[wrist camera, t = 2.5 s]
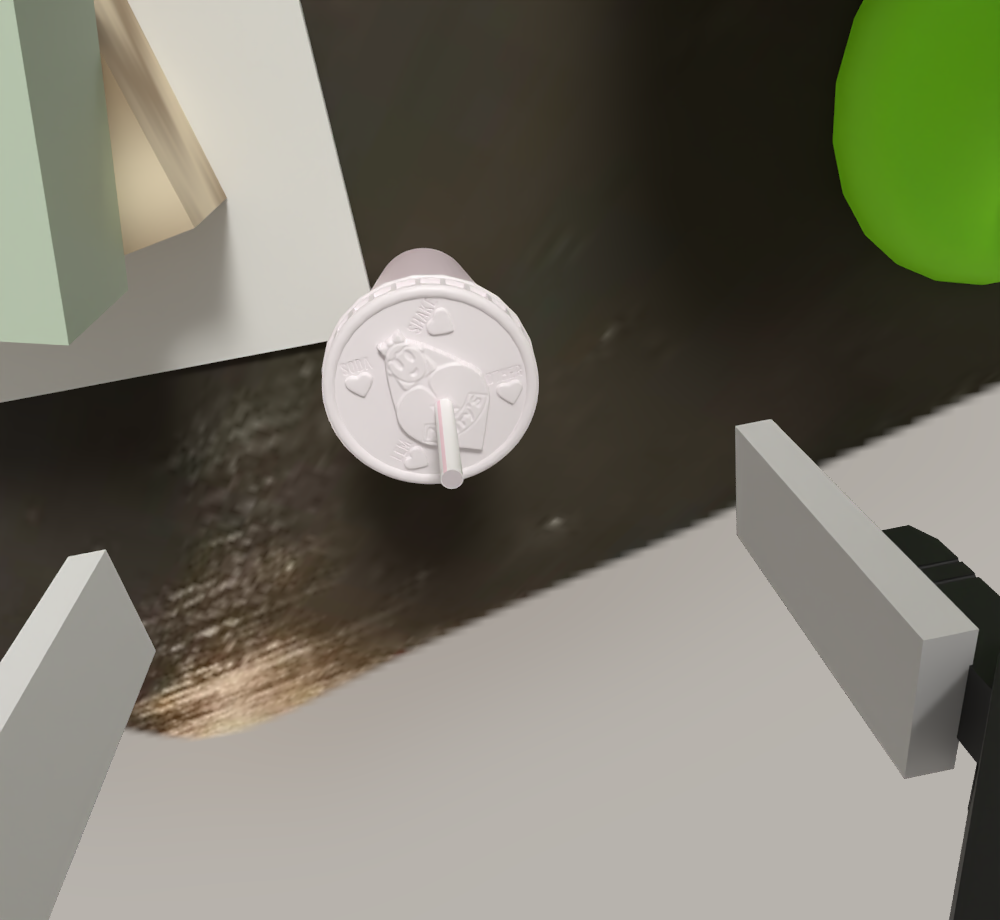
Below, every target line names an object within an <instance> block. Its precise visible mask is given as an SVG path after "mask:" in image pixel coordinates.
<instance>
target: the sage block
mask: <svg viewBox="0 0 1000 920" xmlns="http://www.w3.org/2000/svg"><path fill="white" fill-rule="evenodd" d="M127 291H128V283H127V274H126V266H125V258H124V249H123V241H122V233H121V224H120V216H119V208H118V199H117V191H116V183H115V174H114V166H113V158H112V149H111V141H110V132H109V124H108V116H107V107H106V99H105V91H104V82H103V74H102V66H101V57H100V49H99V41H98V32H97V24H96V16H95V7H94V0H0V342H17V343H34V344H52V345H70V344H71V343H72V342H73V341H74V340H75V339H76V338H77V337H79V336H80V335H81V334H82V333H83V332H84V331H85V330H86V329H87V328H88V327H89V326H90V325H91V324H92V323H93V322H95V321H96V320H97V319H98V318H99V317H100V316H101V315H102V314H103V313H104V312H105V311H106V310H107V309H108V308H110V307H111V306H112V305H113V304H114V303H115V302H116V301H117V300H118V299H119V298H120V297H121V296H122V295H123V294H125V293H126V292H127Z"/></svg>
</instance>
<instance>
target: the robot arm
mask: <svg viewBox="0 0 1000 920" xmlns="http://www.w3.org/2000/svg"><path fill="white" fill-rule="evenodd" d="M735 447H736V515H737V536H738V537H739V539H740V540H741V542H742V543H743V545H744V546H745V547H746V549H747V550H748V552H749V553H750V555H751V556H752V558H753V559H754V561H755V562H756V563H757V565H758V566H759V568H760V569H761V571H762V572H763V574H764V575H765V577H766V578H767V580H768V581H769V582H770V584H771V585H772V587H773V588H774V590H775V591H776V592H777V594H778V596H779V597H780V598H781V600H782V601H783V603H784V604H785V606H786V607H787V609H788V610H789V612H790V613H791V614H792V616H793V617H794V619H795V620H796V622H797V623H798V625H799V626H800V628H801V629H802V630H803V632H804V633H805V635H806V636H807V638H808V639H809V641H810V642H811V644H812V645H813V647H814V648H815V649H816V651H817V652H818V654H819V655H820V657H821V658H822V660H823V661H824V662H825V664H826V665H827V667H828V668H829V670H830V671H831V673H832V674H833V675H834V677H835V678H836V680H837V681H838V683H839V684H840V686H841V687H842V689H843V690H844V691H845V693H846V695H847V696H848V697H849V699H850V700H851V701H852V703H853V705H854V706H855V707H856V709H857V711H858V712H859V713H860V715H861V716H862V718H863V719H864V721H865V722H866V724H867V725H868V727H869V728H870V729H871V731H872V732H873V734H874V735H875V737H876V738H877V740H878V741H879V743H880V744H881V746H882V747H883V748H884V750H885V751H886V753H887V754H888V756H889V757H890V759H891V760H892V762H893V763H894V764H895V766H896V767H897V769H898V770H899V772H900V773H901V775H902V776H903V778H904V779H906V778H911V777H916V776H921V775H926V774H930V773H935V772H940V771H944V770H950V769H954V765H955V760H956V754H957V748H958V743H959V741H960V742H961V744H962V745H963V746H964V747H965V749H966V750H967V751H968V752H969V753H970V755H971V756H972V757H973V758H974V760H975V761H976V762H977V766H976V771H975V775H974V780H973V785H972V790H971V796H970V801H969V805H968V815H967V821H966V827H965V832H964V839H963V844H962V850H961V855H960V861H959V867H958V872H957V878H956V884H955V889H954V895H953V901H952V906H951V912H950V918H949V920H1000V596H999V595H998V594H997V593H996V592H995V591H994V590H992V589H991V588H990V587H989V586H988V585H987V584H986V583H985V582H984V581H983V580H982V579H981V578H979V577H977V578H976V576H975V573H974V572H973V571H972V570H971V569H970V568H969V567H968V566H966V565H965V564H964V563H963V562H959V561H958V557H957V556H956V555H954V554H953V553H952V552H951V551H950V550H949V549H948V548H947V547H946V546H945V545H943V543H941V542H940V541H939V540H938V539H936V538H934V537H932V536H930V535H928V534H926V533H924V532H922V531H920V530H918V529H916V528H914V527H912V526H909V525H907V526H902V527H897V528H892V529H887V530H882V531H881V530H880V529H879V528H878V526H877V525H876V524H874V522H872V520H870V518H869V517H868V516H867V515H866V514H865V513H864V512H863V511H862V510H861V509H860V508H859V507H857V506H856V504H855V503H854V502H853V501H852V500H851V499H850V498H849V497H848V496H847V495H846V494H845V493H844V492H843V491H842V490H841V489H840V488H839V487H838V486H837V485H836V484H835V483H834V482H833V481H832V480H831V479H830V478H829V477H828V476H827V475H826V474H825V473H824V472H823V471H822V470H821V469H820V468H819V467H818V466H817V465H816V464H815V463H814V462H813V461H812V460H811V459H810V458H809V457H808V456H807V455H806V454H805V453H804V452H803V451H802V450H801V449H800V448H799V447H798V446H797V445H796V444H795V443H794V442H793V441H792V440H791V439H790V438H789V437H788V436H787V434H786V433H785V432H784V431H783V430H782V429H781V428H780V427H779V426H778V425H777V424H776V423H775V422H774V421H773V420H772V419H768V420H763V421H758V422H753V423H748V424H743V425H738V426H735ZM155 651H156V650H155V648H154V646H153V644H152V642H151V640H150V638H149V636H148V634H147V632H146V630H145V628H144V626H143V624H142V622H141V620H140V618H139V616H138V614H137V612H136V610H135V608H134V606H133V604H132V602H131V600H130V598H129V596H128V593H127V591H126V589H125V587H124V585H123V583H122V581H121V579H120V577H119V575H118V573H117V571H116V569H115V567H114V565H113V563H112V561H111V559H110V557H109V555H108V553H107V551H106V550H101V551H95V552H90V553H85V554H80V555H75V556H70V557H68V558H67V560H66V561H65V563H64V564H63V566H62V567H61V569H60V571H59V572H58V574H57V575H56V577H55V578H54V580H53V581H52V583H51V585H50V586H49V588H48V589H47V591H46V592H45V594H44V595H43V597H42V599H41V600H40V602H39V603H38V605H37V606H36V608H35V609H34V611H33V613H32V614H31V616H30V617H29V619H28V620H27V622H26V623H25V625H24V627H23V628H22V630H21V631H20V633H19V634H18V636H17V638H16V639H15V641H14V642H13V644H12V645H11V647H10V648H9V650H8V652H7V653H6V655H5V656H4V658H3V659H2V661H1V662H0V920H49V917H50V915H51V912H52V909H53V907H54V905H55V902H56V900H57V897H58V895H59V892H60V890H61V887H62V884H63V882H64V879H65V877H66V874H67V872H68V869H69V867H70V864H71V862H72V859H73V857H74V854H75V852H76V849H77V847H78V844H79V842H80V839H81V837H82V834H83V832H84V829H85V827H86V824H87V822H88V819H89V817H90V814H91V812H92V809H93V807H94V804H95V802H96V799H97V797H98V794H99V792H100V789H101V787H102V784H103V782H104V779H105V777H106V774H107V772H108V769H109V767H110V764H111V761H112V759H113V757H114V754H115V751H116V749H117V746H118V744H119V742H120V739H121V737H122V734H123V732H124V729H125V727H126V724H127V722H128V719H129V717H130V714H131V712H132V709H133V707H134V704H135V702H136V699H137V697H138V694H139V692H140V689H141V686H142V684H143V681H144V679H145V676H146V674H147V671H148V669H149V666H150V664H151V661H152V659H153V656H154V654H155Z"/></svg>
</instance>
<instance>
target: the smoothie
mask: <svg viewBox="0 0 1000 920" xmlns="http://www.w3.org/2000/svg"><path fill="white" fill-rule="evenodd" d="M538 388H539V380H538V370H537V364H536V360H535V356H534V352H533V348H532V344H531V340H530V338H529V336H528V334H527V332H526V330H525V329H524V327H523V325H522V323H521V322H520V320H519V318H518V316H517V315H516V314H515V313H514V312H513V311H512V310H511V309H510V308H509V307H508V306H507V305H506V304H505V303H504V302H503V301H502V300H501V299H500V298H499V297H498V296H497V295H495V294H493V293H491V292H489V291H488V290H486V289H484V288H482V287H481V286H479V285H477V284H475V282H474V281H473V280H472V279H471V278H470V277H469V275H468V274H467V273H466V272H465V271H464V270H463V268H462V267H461V266H460V265H459V264H458V263H457V262H456V261H455V260H454V259H453V258H452V257H450V256H449V255H447V254H445V253H443V252H441V251H438V250H435V249H429V248H418V249H412V250H409V251H406V252H403V253H401V254H400V255H398V256H396V257H395V258H394V259H393V260H391V261H390V262H389V264H388V265H387V266H386V267H385V269H384V270H383V272H382V273H381V275H380V277H379V278H378V280H377V281H376V283H375V285H374V286H373V288H372V289H371V291H370V292H368V293H366V294H365V295H363V296H361V297H360V298H359V299H358V300H357V301H356V302H355V303H354V304H353V305H352V306H351V307H350V308H349V309H348V310H347V311H346V312H345V313H344V314H343V315H342V316H341V317H340V319H339V321H338V322H337V324H336V326H335V328H334V330H333V332H332V334H331V336H330V338H329V340H328V342H327V345H326V350H325V355H324V360H323V365H322V394H323V402H324V406H325V410H326V413H327V416H328V419H329V421H330V423H331V426H332V428H333V430H334V431H335V433H336V435H337V436H338V438H339V439H340V440H341V442H342V443H343V445H344V446H345V447H346V448H347V449H348V450H349V451H350V452H351V453H352V454H353V455H354V456H355V457H356V458H357V459H359V460H360V461H361V462H363V463H364V464H365V465H367V466H369V467H370V468H372V469H373V470H375V471H377V472H379V473H381V474H383V475H386V476H388V477H391V478H394V479H397V480H401V481H406V482H410V483H418V484H442V485H443V486H444V487H446V488H449V489H455V488H457V487H459V486H460V485H461V484H462V482H463V479H465V478H469V477H471V476H474V475H476V474H479V473H481V472H482V471H484V470H486V469H488V468H490V467H491V466H493V465H494V464H496V463H497V462H499V461H500V460H501V459H502V458H504V457H505V456H506V455H507V454H508V453H509V452H510V451H511V450H512V449H513V448H514V447H515V446H516V444H517V443H518V442H519V440H520V439H521V438H522V436H523V435H524V433H525V431H526V430H527V428H528V426H529V424H530V422H531V420H532V417H533V414H534V411H535V408H536V403H537V398H538Z"/></svg>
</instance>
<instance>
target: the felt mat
mask: <svg viewBox="0 0 1000 920" xmlns="http://www.w3.org/2000/svg"><path fill="white" fill-rule="evenodd" d="M127 1H128V3H129V5H130V7H131V9H132V11H133V13H134V15H135V17H136V19H137V21H138V23H139V25H140V27H141V29H142V31H143V33H144V35H145V37H146V38H147V40H148V42H149V44H150V46H151V48H152V50H153V52H154V54H155V56H156V58H157V60H158V62H159V64H160V66H161V68H162V70H163V72H164V74H165V76H166V78H167V80H168V82H169V84H170V86H171V88H172V90H173V92H174V94H175V96H176V98H177V100H178V102H179V104H180V106H181V108H182V110H183V112H184V114H185V116H186V118H187V120H188V122H189V124H190V126H191V128H192V130H193V132H194V134H195V136H196V137H197V139H198V141H199V143H200V145H201V147H202V149H203V151H204V153H205V155H206V157H207V159H208V161H209V163H210V165H211V167H212V169H213V171H214V173H215V175H216V177H217V179H218V181H219V183H220V185H221V187H222V189H223V191H224V193H225V195H226V197H227V198H226V199H225V200H224V201H223V202H222V203H221V204H220V205H219V206H218V207H217V208H216V209H215V210H213V211H212V212H211V213H210V214H209V215H208V216H207V217H206V218H205V219H204V220H203V221H202V222H201V223H200V224H198V225H197V226H196V227H195V228H193V229H191V230H188V231H186V232H183V233H181V234H178V235H175V236H173V237H170V238H168V239H165V240H162V241H160V242H157V243H155V244H152V245H150V246H147V247H144V248H142V249H139V250H137V251H134V252H132V253H129V254H126V255H124V258H125V266H126V274H127V283H128V291H127V292H126V293H125V294H123V295H122V296H121V297H120V298H119V299H118V300H117V301H116V302H115V303H114V304H113V305H112V306H111V307H110V308H108V309H107V310H106V311H105V312H104V313H103V314H102V315H101V316H100V317H99V318H98V319H97V320H96V321H95V322H93V323H92V324H91V325H90V326H89V327H88V328H87V329H86V330H85V331H84V332H83V333H82V334H81V335H80V336H79V337H77V338H76V339H75V340H74V341H73V342H72V343H71V344H70V345H52V344H34V343H17V342H0V403H1V402H6V401H12V400H17V399H22V398H28V397H33V396H38V395H44V394H49V393H54V392H60V391H65V390H70V389H75V388H81V387H86V386H91V385H97V384H102V383H107V382H113V381H118V380H123V379H129V378H134V377H139V376H144V375H150V374H155V373H160V372H166V371H171V370H176V369H182V368H187V367H192V366H197V365H203V364H208V363H213V362H219V361H224V360H229V359H235V358H240V357H245V356H251V355H256V354H261V353H266V352H272V351H277V350H282V349H288V348H293V347H298V346H304V345H309V344H314V343H320V342H325V341H328V340H329V338H330V336H331V334H332V332H333V330H334V328H335V326H336V324H337V322H338V321H339V319H340V317H341V316H342V315H343V314H344V313H345V312H346V311H347V310H348V309H349V308H350V307H351V306H352V305H353V304H354V303H355V302H356V301H357V300H358V299H359V298H360V297H361V296H363V295H365V294H366V293H368V292H370V291H371V288H370V284H369V280H368V276H367V272H366V268H365V264H364V259H363V255H362V251H361V247H360V243H359V239H358V235H357V231H356V227H355V223H354V219H353V214H352V210H351V206H350V202H349V198H348V194H347V190H346V186H345V182H344V178H343V174H342V170H341V165H340V161H339V157H338V153H337V149H336V145H335V141H334V137H333V133H332V129H331V125H330V121H329V116H328V112H327V108H326V104H325V100H324V96H323V92H322V88H321V84H320V80H319V76H318V71H317V67H316V63H315V59H314V55H313V51H312V47H311V43H310V39H309V35H308V31H307V27H306V22H305V18H304V14H303V10H302V6H301V2H300V0H127Z"/></svg>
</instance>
